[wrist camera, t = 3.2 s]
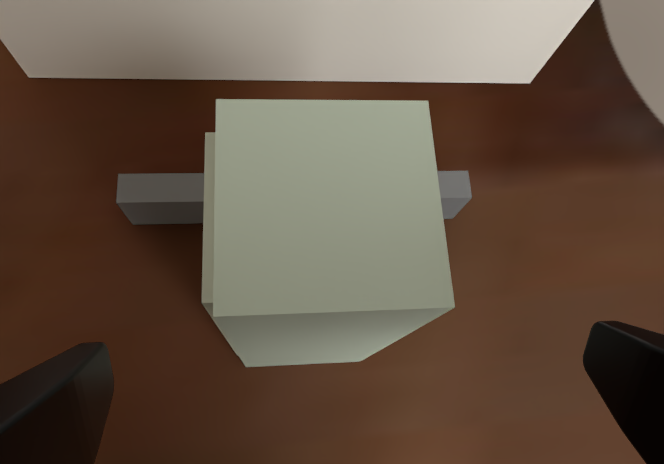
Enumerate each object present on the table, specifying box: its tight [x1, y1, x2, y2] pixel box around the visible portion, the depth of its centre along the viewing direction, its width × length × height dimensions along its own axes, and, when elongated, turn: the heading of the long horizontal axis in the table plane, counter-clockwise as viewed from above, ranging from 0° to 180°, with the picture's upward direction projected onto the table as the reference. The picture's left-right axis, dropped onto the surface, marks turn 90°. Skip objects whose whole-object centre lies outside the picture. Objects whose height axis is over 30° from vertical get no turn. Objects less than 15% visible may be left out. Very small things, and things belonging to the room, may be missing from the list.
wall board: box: [0, 0, 594, 225], centre depth 20 cm, size 9×24×10 cm, turn 93°
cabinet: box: [202, 99, 455, 367], centre depth 16 cm, size 5×5×12 cm
